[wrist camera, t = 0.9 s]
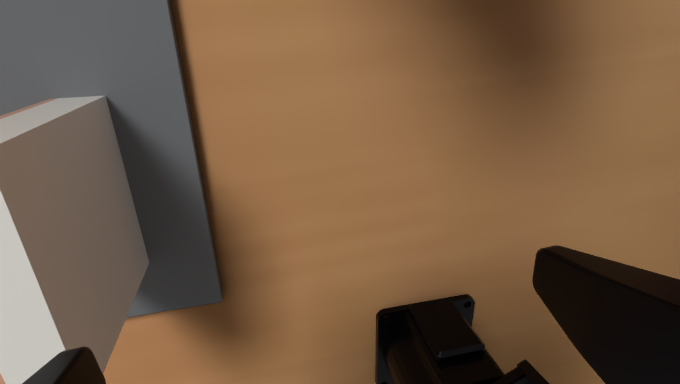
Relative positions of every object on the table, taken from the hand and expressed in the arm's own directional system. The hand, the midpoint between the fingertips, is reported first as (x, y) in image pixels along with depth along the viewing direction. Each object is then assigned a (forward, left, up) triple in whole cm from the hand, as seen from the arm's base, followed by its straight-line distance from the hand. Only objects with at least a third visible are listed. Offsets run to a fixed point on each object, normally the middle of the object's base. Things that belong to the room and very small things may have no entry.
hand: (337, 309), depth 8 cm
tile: (-1, +8, -12) cm, 14 cm away
